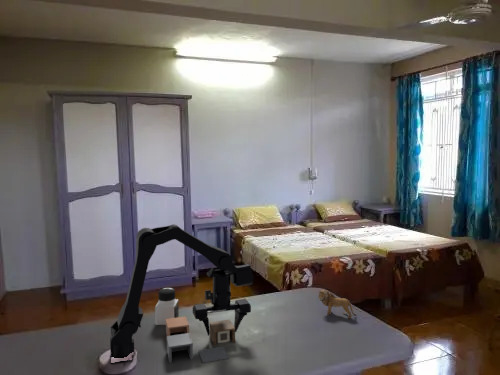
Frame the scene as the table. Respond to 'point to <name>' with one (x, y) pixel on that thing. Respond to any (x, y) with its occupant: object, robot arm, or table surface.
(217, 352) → the slate pad
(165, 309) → the medicine bottle
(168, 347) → the grey box
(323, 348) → the table surface
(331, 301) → the lion figurine
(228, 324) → the box
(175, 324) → the terracotta block
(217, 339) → the cream cube
